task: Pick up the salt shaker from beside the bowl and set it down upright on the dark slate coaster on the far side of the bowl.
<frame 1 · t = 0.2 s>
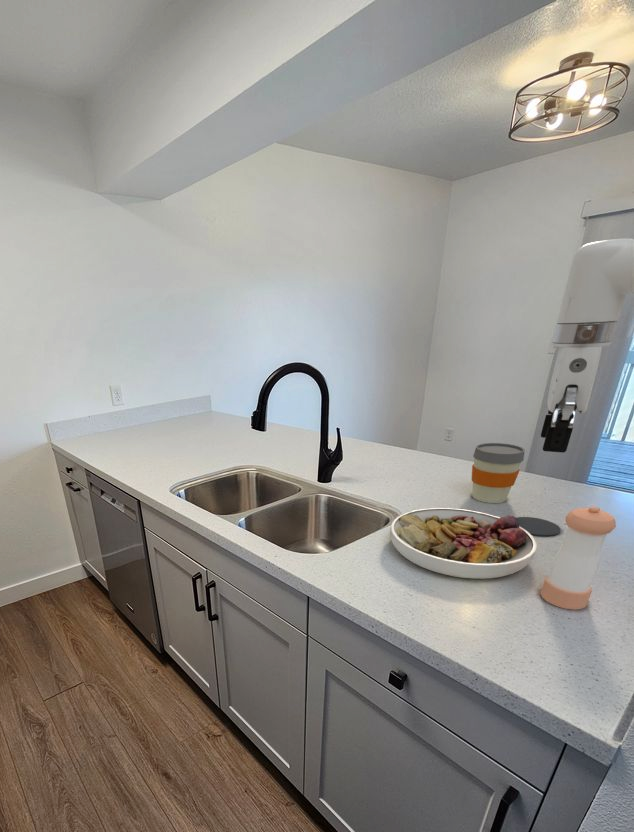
hand: (552, 444, 75), 29 cm above the worktop, tool pointing down, fingers open, 9 cm apart
reusable coffee cup: (488, 498, 130), on the worktop
salt shaker: (562, 599, 84), on the worktop
coaster: (533, 526, 112), on the worktop
bowl: (455, 552, 103), on the worktop
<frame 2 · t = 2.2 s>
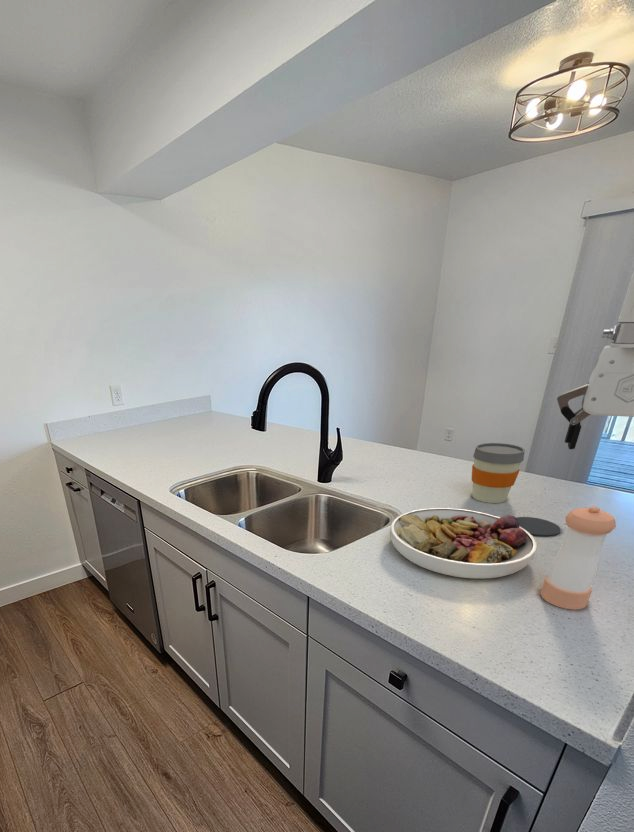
hand: (606, 449, 71), 29 cm above the worktop, tool pointing down, fingers open, 9 cm apart
nothing on the worktop moved.
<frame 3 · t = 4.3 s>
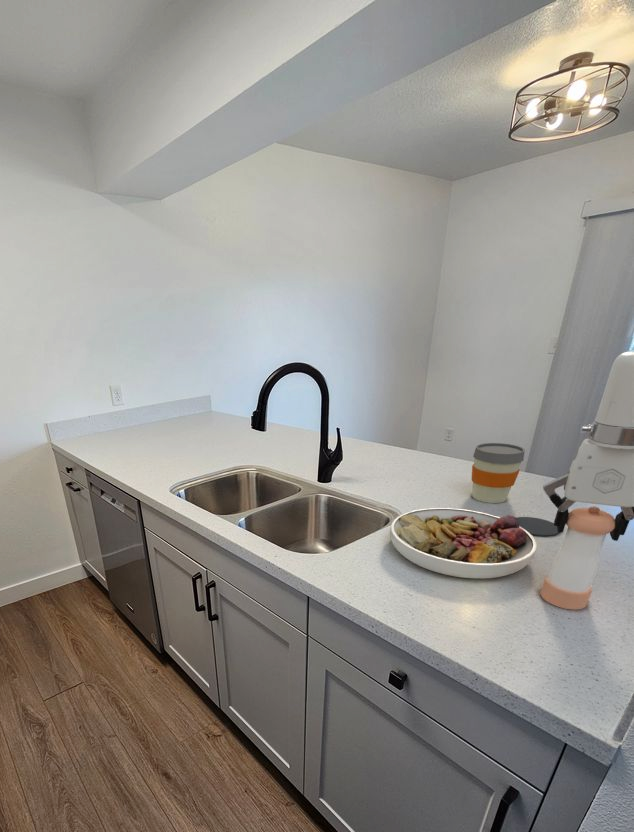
hand: (586, 532, 78), 14 cm above the worktop, tool pointing down, fingers closed on salt shaker, 7 cm apart
salt shaker: (562, 599, 84), on the worktop, touching gripper
everything else where it was.
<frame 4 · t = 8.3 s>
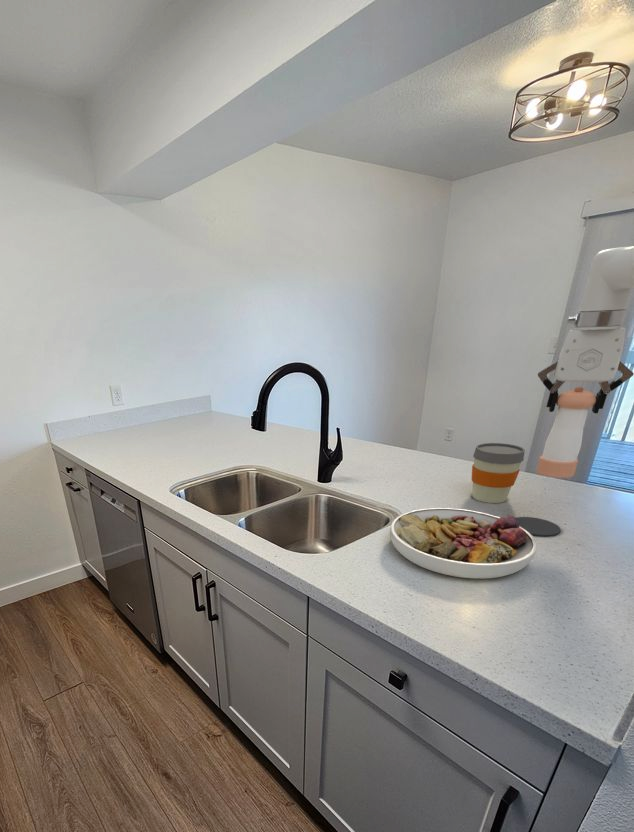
hand: (572, 410, 95), 30 cm above the worktop, tool pointing down, fingers closed on salt shaker, 7 cm apart
salt shaker: (554, 473, 101), point 16 cm above the worktop, touching gripper
everything else where it was.
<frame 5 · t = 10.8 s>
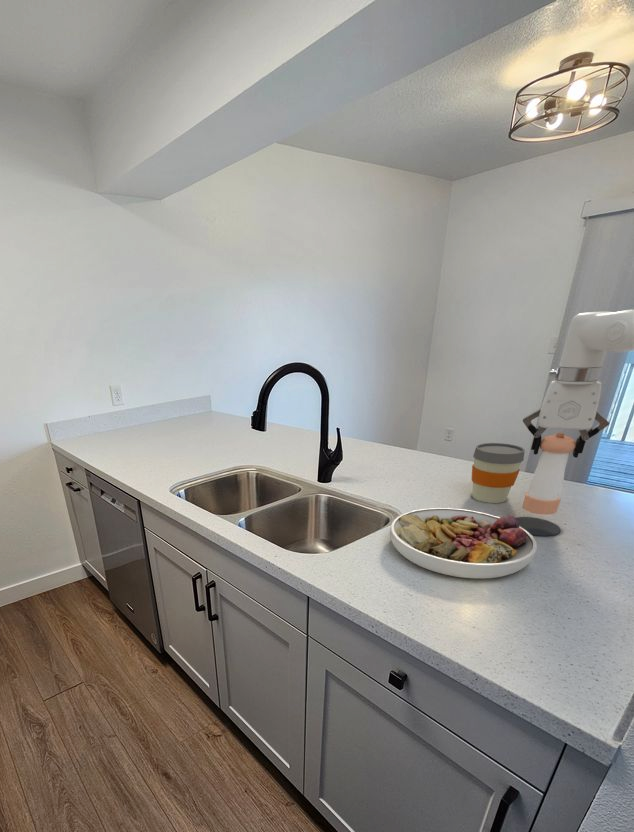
hand: (554, 454, 103), 19 cm above the worktop, tool pointing down, fingers closed on salt shaker, 7 cm apart
salt shaker: (538, 509, 109), point 5 cm above the worktop, touching gripper
everything else where it was.
when the fingers open (15 cm above the worktop, at t = 12.5 s): salt shaker stays where it is, resting on coaster.
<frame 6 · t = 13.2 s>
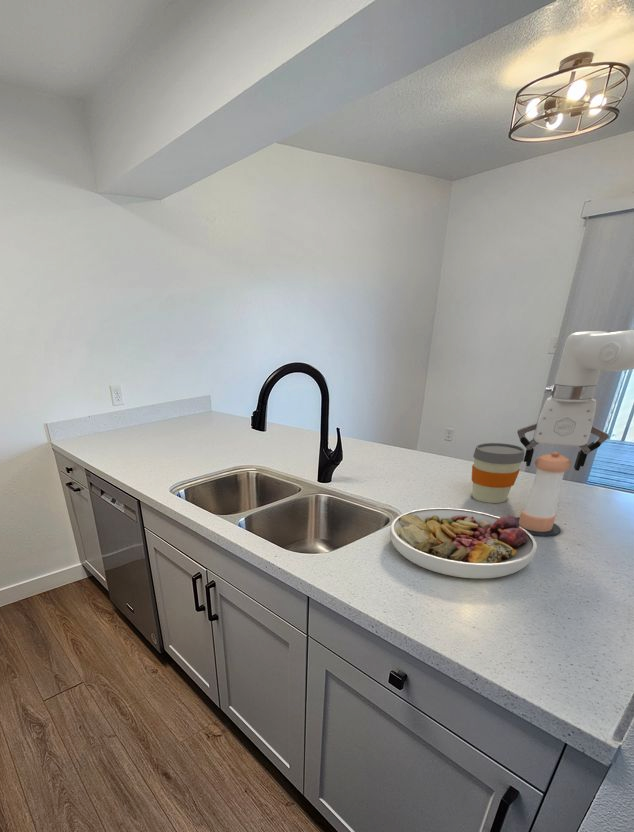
hand: (551, 466, 104), 16 cm above the worktop, tool pointing down, fingers open, 9 cm apart
salt shaker: (534, 526, 111), resting on coaster
everything else where it was.
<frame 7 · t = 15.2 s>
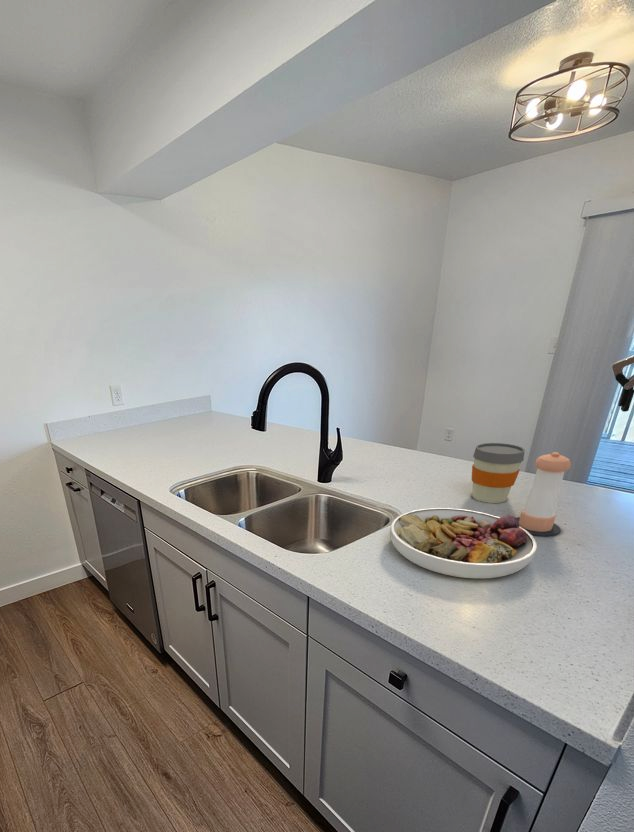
nothing on the worktop moved.
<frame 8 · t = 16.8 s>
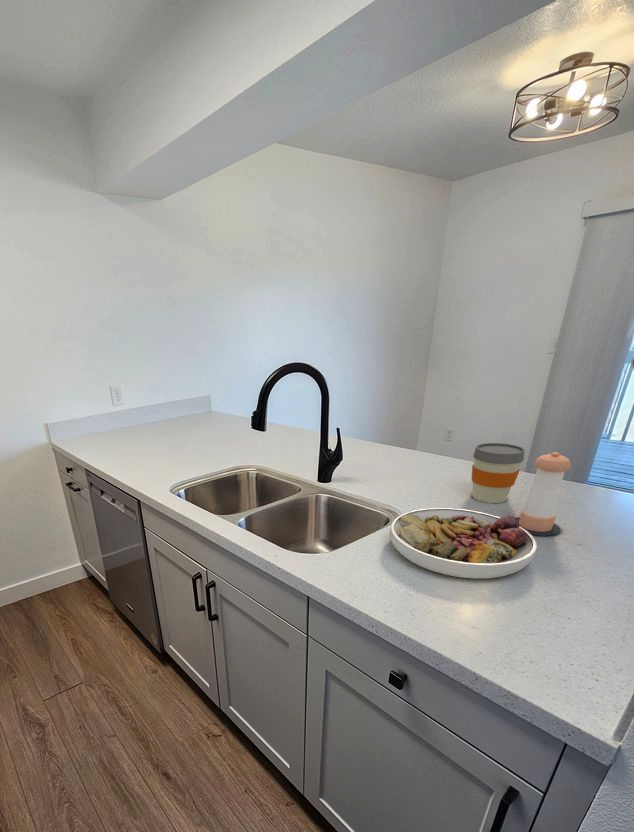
nothing on the worktop moved.
at the end: salt shaker inside the target area on the coaster (0.1 cm from its centre), point 0.2 cm above the coaster's base; salt shaker tilted 0°; the gripper is holding nothing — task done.
